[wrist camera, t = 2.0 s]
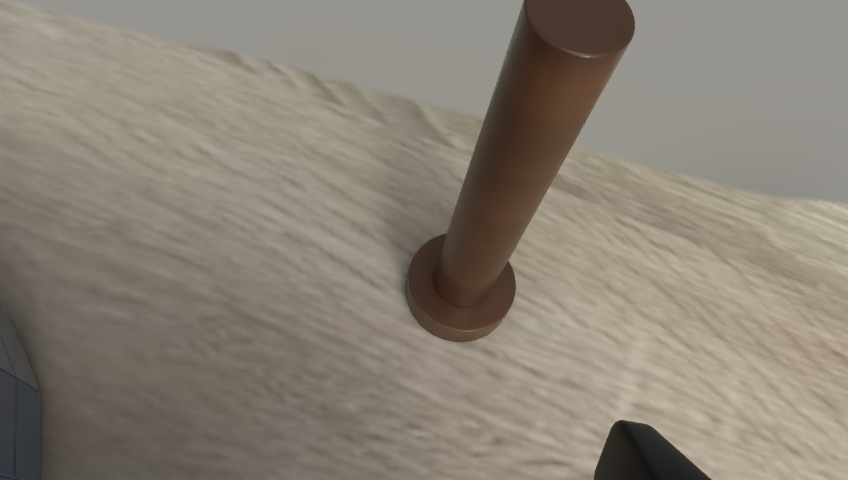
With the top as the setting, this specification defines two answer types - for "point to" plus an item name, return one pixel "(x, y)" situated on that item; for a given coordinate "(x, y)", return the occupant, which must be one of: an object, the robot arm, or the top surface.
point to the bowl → (18, 409)
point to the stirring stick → (516, 160)
